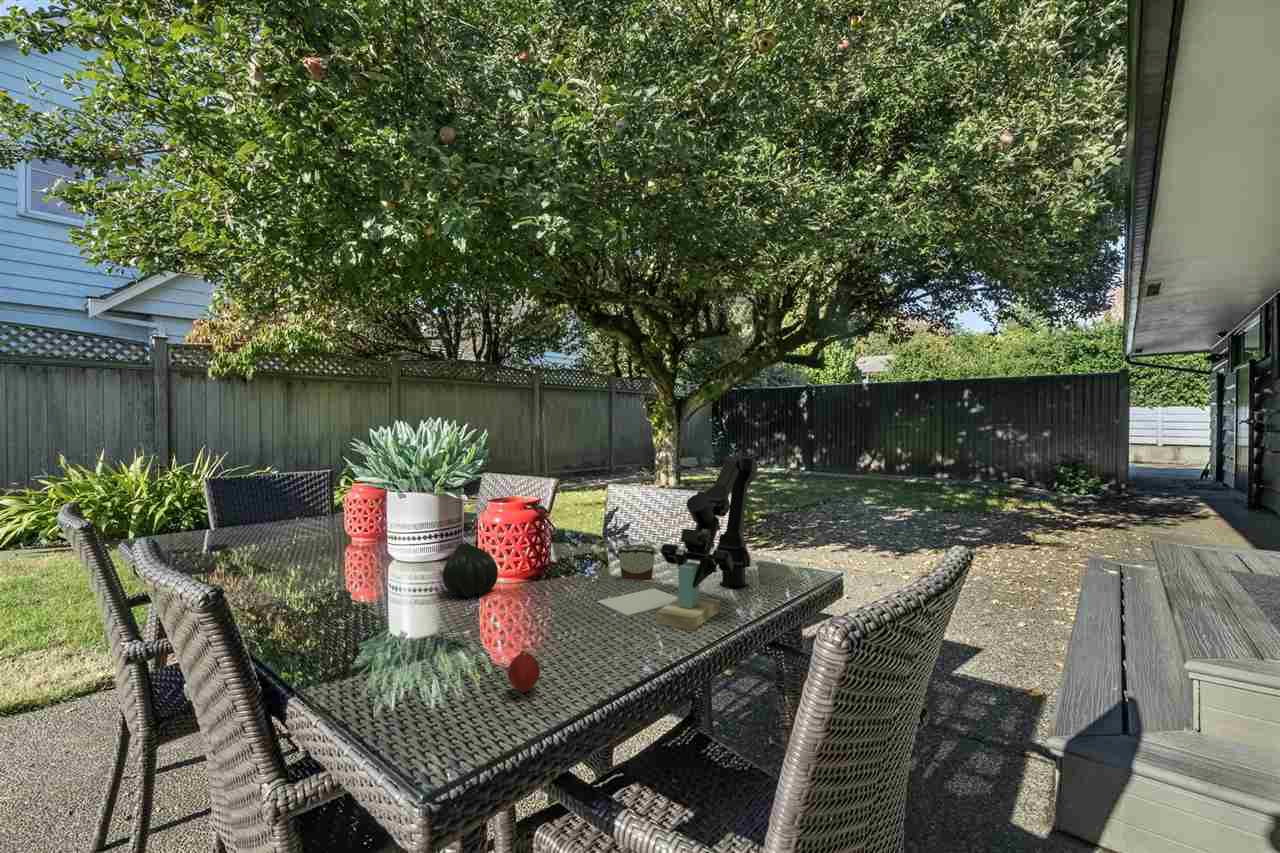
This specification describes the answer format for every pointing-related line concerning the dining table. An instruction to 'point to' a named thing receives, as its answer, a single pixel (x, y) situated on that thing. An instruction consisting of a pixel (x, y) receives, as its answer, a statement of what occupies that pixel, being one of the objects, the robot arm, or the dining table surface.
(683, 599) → the tall teal block
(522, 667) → the onion
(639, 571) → the food container
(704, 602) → the plate
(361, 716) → the dining table surface
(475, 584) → the squash
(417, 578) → the dining table surface
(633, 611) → the mat
